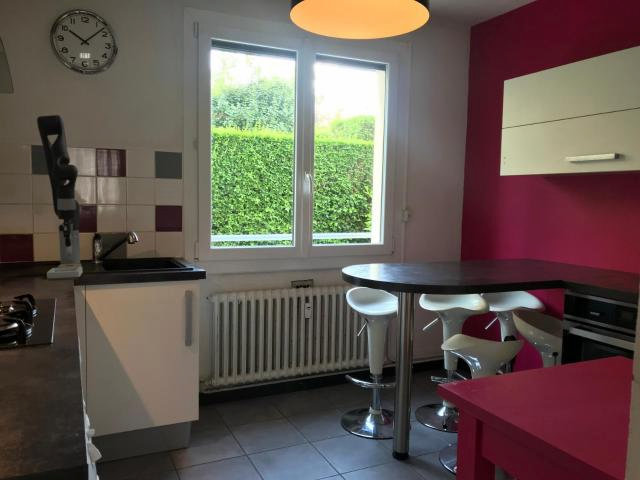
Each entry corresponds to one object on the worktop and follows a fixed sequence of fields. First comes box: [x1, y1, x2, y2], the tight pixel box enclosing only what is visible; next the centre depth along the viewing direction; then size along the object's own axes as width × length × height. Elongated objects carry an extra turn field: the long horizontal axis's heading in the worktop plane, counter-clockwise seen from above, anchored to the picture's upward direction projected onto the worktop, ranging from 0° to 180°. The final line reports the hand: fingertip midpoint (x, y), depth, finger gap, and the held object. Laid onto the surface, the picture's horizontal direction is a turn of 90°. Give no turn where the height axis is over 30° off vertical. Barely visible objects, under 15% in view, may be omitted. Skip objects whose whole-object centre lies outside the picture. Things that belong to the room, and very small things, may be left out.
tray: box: [46, 266, 83, 282], centre depth 232 cm, size 12×12×4 cm
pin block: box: [56, 263, 82, 268], centre depth 244 cm, size 9×9×4 cm
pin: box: [65, 233, 72, 256], centre depth 243 cm, size 3×3×10 cm
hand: (68, 245), depth 243 cm, fingers closed on pin, 2 cm apart
